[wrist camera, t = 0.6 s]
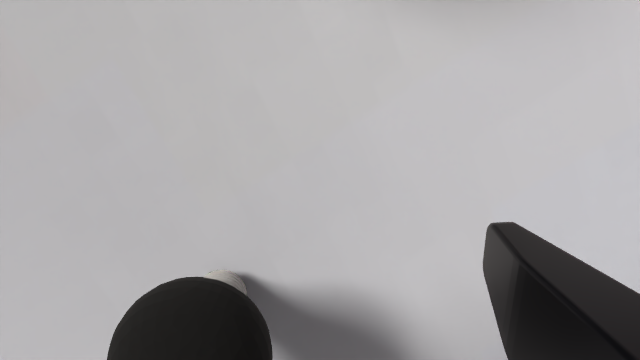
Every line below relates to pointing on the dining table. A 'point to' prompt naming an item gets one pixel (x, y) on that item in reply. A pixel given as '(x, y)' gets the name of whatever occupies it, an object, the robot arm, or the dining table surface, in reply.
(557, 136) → the dining table surface
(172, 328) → the light bulb
